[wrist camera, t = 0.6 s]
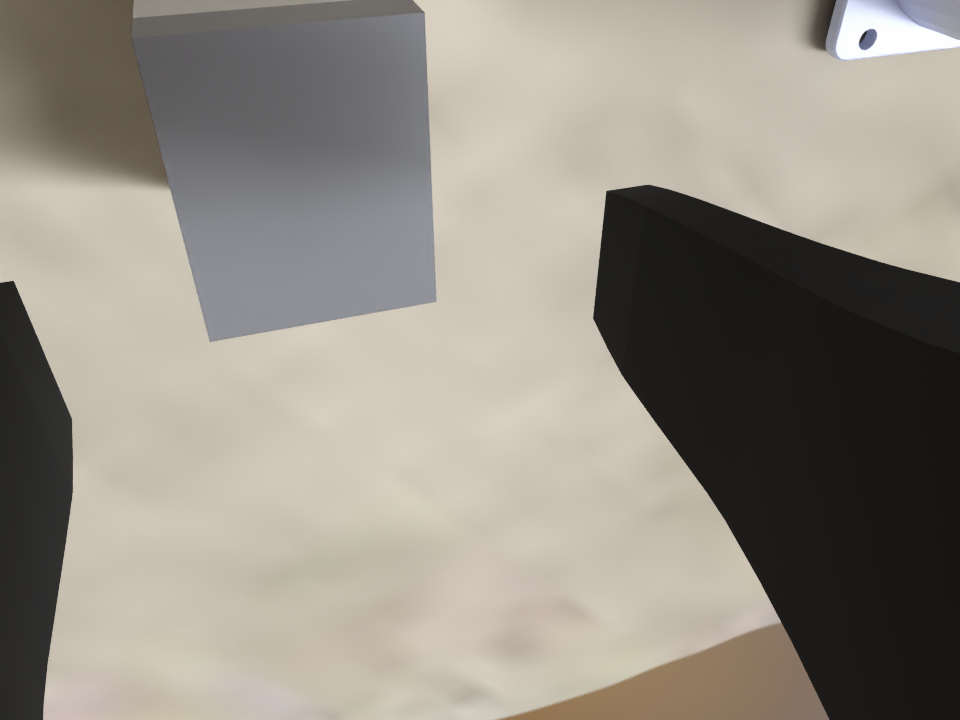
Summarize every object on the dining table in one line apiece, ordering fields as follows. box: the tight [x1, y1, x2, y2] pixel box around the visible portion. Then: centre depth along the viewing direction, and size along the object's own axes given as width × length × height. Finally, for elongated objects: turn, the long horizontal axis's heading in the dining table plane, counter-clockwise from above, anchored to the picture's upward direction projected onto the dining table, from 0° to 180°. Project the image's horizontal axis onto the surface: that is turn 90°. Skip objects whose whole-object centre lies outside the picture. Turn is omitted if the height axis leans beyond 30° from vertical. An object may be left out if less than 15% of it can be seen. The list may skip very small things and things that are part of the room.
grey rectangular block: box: [131, 0, 436, 342], centre depth 15 cm, size 4×5×6 cm
